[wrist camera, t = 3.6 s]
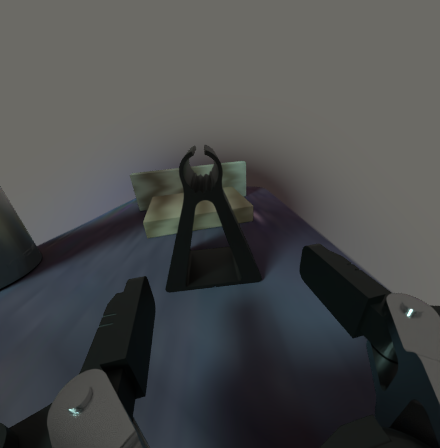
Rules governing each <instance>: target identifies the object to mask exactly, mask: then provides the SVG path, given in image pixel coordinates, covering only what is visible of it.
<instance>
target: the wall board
mask: <svg viewBox="0 0 440 448" xmlns="http://www.w3.org/2000/svg"><path fill="white" fill-rule="evenodd" d="M213 165H214V164H212V165H203V166H195V167H191V168H192V170H193V171H194V173H196V174H197V176H198V175H200V174H201V175H202V176H203V177H204V175H205V174H208V175H209V173H210V171H212V168H213ZM221 165H222V170H223V176H222V187H223V190H224V192H225V194H226V196H227V199H228V201H229V203H230V205H231V207H232V210H233V212H234V214H235V216H236V218H237V221H238V223H243V222H250V221H253V205H252V204H251V203H250V202H248V201H247V200H246V199H245V198H244V197H243V196H246V163H245V162H244V161H239V162H230V163H221ZM130 178H131V181H132V185H133V188H134V192H135V195H136V199H137V202H138V206H139V209H140V211H144V210H148V211H147V213H146V216H145V219H144V221H143V224H144V228H145V231H146V235H147V238H152V237H158V236H164V235H170V234H176V233H177V230H178V225H179V220H180V215H181V210H182V206H183V200H184V192H183V186H182V182H181V180H180V176H179V168H176V169H167V170H158V171H149V172H140V173H132V174H131V175H130ZM219 226H222V224H221V222H220V219H219V216H218V214H217V211H216V209H215V206H214V204H213V203H212V202H210V201H207V200H204V201H201V202H199V203H198V204H197V205H196V208H195V216H194V223H193V231H194V230H201V229H207V228H213V227H219Z"/></svg>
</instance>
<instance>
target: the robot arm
mask: <svg viewBox="0 0 440 448" xmlns="http://www.w3.org/2000/svg"><path fill="white" fill-rule="evenodd" d="M41 259H42V254H41V253H40V251H39V249H38V248H37V246H36V245H35V243H34V241H33V240H32V238H31V236H30V235H29V233H28V231H27V230H26V228H25V226H24V225H23V223H22V221H21V220H20V218H19V216H18V215H17V213H16V211H15V210H14V208H13V206H12V205H11V203H10V201H9V200H8V198H7V196H6V195H5V193H4V191H3V190H2V188H1V186H0V289H1V288H3V287H5V286H7V285H9V284H11V283H12V282H14V281H16V280H18V279H19V278H21V277H23V276H24V275H26V274H27V273H29V272H30V271H31V270H32V269H34V268H35V267H36V266H37V265H38V264H39V263H40V261H41ZM300 275H301V278H302V279H303V281H304V282H305V283H306V284H307V286H308V287H309V288H310V289H311V290H312V291H313V293H314V294H315V295H316V296H317V297H318V298H319V300H320V301H321V302H322V303H323V304H324V305H325V307H326V308H327V309H328V310H329V311H330V312H331V314H332V315H333V316H334V317H335V318H336V319H337V321H338V322H339V323H340V324H341V325H342V326H343V327H344V329H345V330H346V331H347V332H348V333H349V334H350V336H351V337H352V338H356V337H360V336H363V335H364V336H365V337H366V338H367V339H368V340H367V343H366V347H367V352H368V357H369V362H370V367H371V371H372V376H373V381H374V386H375V391H376V406H375V417H374V416H373V415H369V416H367V417H364V418H361V419H358V420H356V421H353V422H350V423H347V424H345V425H342V426H340V427H339V428H338V429H337V430H336V431H335V432H334V433H333V434H332V435H331V436H330V437H329V438H328V439H327V440H326V441H325V442H324V443H323V444H322V445H321V446H320V447H319V448H440V306H430V305H428V304H427V303H425V302H423V301H422V300H420V299H418V298H416V297H413V296H410V295H407V294H402V293H391V292H390V291H388V290H387V289H386V288H384V287H383V286H382V285H380V284H379V283H378V282H376V281H375V280H374V279H372V278H371V277H369V276H368V275H367V274H365V273H364V272H363V271H361V270H359V268H357V267H356V266H355V265H353V264H351V262H349V261H348V260H347V259H345V258H344V257H342V256H340V255H338V254H336V253H334V252H331V251H329V250H328V249H326V248H325V247H324V246H322V245H321V244H314V245H309V246H305V247H304V248H303V250H302V257H301V263H300ZM154 320H155V301H154V297H153V294H152V291H151V288H150V285H149V282H148V279H147V277H146V276H144V277H139V278H134V279H129V280H128V281H127V283H126V286H125V289H124V292H122V293H117V294H116V295H115V296H114V297H113V298H112V300H111V301H110V302H109V303H108V305H107V307H106V310H105V312H104V315H103V318H102V320H101V322H100V325H99V328H98V330H97V332H96V334H95V337H94V339H93V342H92V344H91V347H90V349H89V352H88V354H87V357H86V359H85V362H84V364H83V367H82V369H81V371H80V373H79V375H77V376H76V377H75V378H73V379H72V380H71V381H70V382H68V383H67V384H66V385H65V386H64V387H63V389H62V390H61V391H60V392H59V394H58V395H57V396H56V398H55V400H54V401H53V403H51V404H50V405H48V406H47V407H45V408H43V409H42V410H40V411H38V412H36V413H35V414H33V415H31V416H30V417H28V418H26V419H24V420H23V421H21V422H19V423H17V424H16V425H14V426H12V427H10V428H8V427H6V426H5V425H3V424H2V423H0V448H150V447H149V445H148V443H147V441H146V439H145V437H144V435H143V434H142V432H141V430H140V428H139V426H138V424H137V423H136V421H135V419H134V417H133V411H134V404H135V399H137V398H141V397H144V396H146V387H147V379H148V370H149V362H150V353H151V345H152V336H153V328H154Z"/></svg>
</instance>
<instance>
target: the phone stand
mask: <svg viewBox="0 0 440 448" xmlns="http://www.w3.org/2000/svg"><path fill="white" fill-rule="evenodd" d="M195 150H196V147H195V146H193V147H192V148H191V149H190V150H189V151H188V152H187V154H186V155H185V157H184V158H183V159H182V161H181V163H180V166H179V176H180V180H181V182H182V186H183V192H184V200H183V206H182V210H181V215H180V220H179V225H178V230H177V235H176V240H175V245H174V250H173V255H172V260H171V265H170V270H169V274H168V279H167V284H166V291H167V292H177V291H186V290H194V289H203V288H212V287H213V286H216V287H220V286H229V285H237V284H246V283H255V282H260V281H261V280H262V278H261V275H260V273H259V270H258V268H257V265H256V263H255V260H254V258H253V255H252V253H251V250H250V248H249V245H248V243H247V241H246V238H245V236H244V234H243V232H242V230H241V227H240V225H239V223H238V221H237V218H236V216H235V214H234V212H233V210H232V207H231V205H230V203H229V201H228V199H227V196H226V194H225V192H224V190H223V187H222V176H223V170H222V165H221V163H220V161H219V159H218V157H217V156H216V154H215V152H214V151H213V149H211V148H210V147H209V146H207V145H205V146H204V153H205V155H207V156H209V157H211V158H212V159H213V160H214V165H213V168H212V171H210V173H209V175H208V174H205V175H204V177H203V176H202V175H201V174H200V175H198V176H197V174H196V173H194V171H193V170H192V168H191V167H190V164H189V158H190V157H191V156H193V155H194V153H195ZM204 200H207V201H210V202H212V203H213V204H214V206H215V209H216V211H217V214H218V216H219V219H220V222H221V224H222V227H223V230H224V232H225V235H226V237H227V240H228V243H229V245H230V247H222V248H213V249H203V250H194V251H191V250H190V246H191V238H192V231H193V223H194V216H195V208H196V205H197V204H198V203H199V202H201V201H204Z"/></svg>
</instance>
